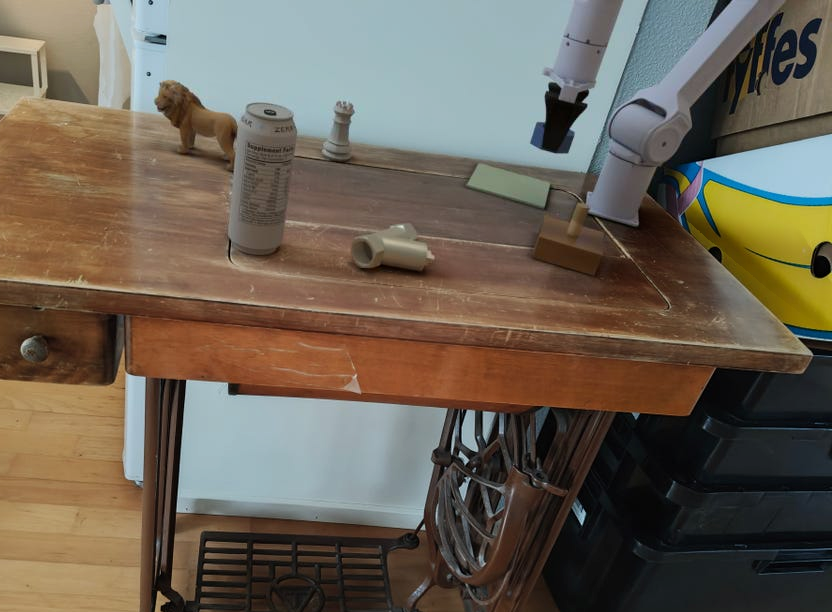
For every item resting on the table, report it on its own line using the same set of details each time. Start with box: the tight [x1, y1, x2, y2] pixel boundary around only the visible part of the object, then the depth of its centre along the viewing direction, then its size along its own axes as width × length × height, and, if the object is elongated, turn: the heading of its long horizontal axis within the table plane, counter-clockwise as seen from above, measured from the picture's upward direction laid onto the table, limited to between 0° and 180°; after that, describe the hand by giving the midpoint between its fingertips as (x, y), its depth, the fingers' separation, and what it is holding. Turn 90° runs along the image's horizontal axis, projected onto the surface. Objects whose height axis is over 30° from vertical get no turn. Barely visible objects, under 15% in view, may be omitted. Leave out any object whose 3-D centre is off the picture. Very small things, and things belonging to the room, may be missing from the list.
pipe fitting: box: [350, 222, 435, 272], centre depth 82 cm, size 8×4×7 cm
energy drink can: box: [227, 102, 298, 256], centre depth 77 cm, size 6×6×15 cm
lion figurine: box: [153, 79, 238, 172], centre depth 98 cm, size 15×5×9 cm, turn 73°
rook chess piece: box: [321, 100, 355, 162], centre depth 108 cm, size 4×4×8 cm
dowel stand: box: [531, 202, 604, 277], centre depth 93 cm, size 8×8×7 cm
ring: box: [529, 121, 576, 155], centre depth 101 cm, size 5×5×2 cm
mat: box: [465, 162, 551, 210], centre depth 114 cm, size 12×12×1 cm
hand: (550, 143), depth 101 cm, fingers closed on ring, 5 cm apart
